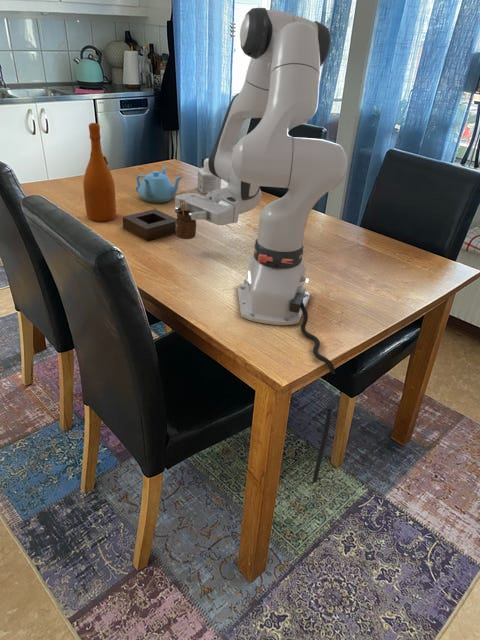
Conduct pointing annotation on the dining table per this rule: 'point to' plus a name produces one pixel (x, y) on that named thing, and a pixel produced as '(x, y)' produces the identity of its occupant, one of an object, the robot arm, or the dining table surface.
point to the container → (207, 178)
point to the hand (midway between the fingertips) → (183, 213)
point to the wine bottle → (98, 182)
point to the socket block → (150, 224)
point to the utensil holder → (185, 223)
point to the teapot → (156, 187)
